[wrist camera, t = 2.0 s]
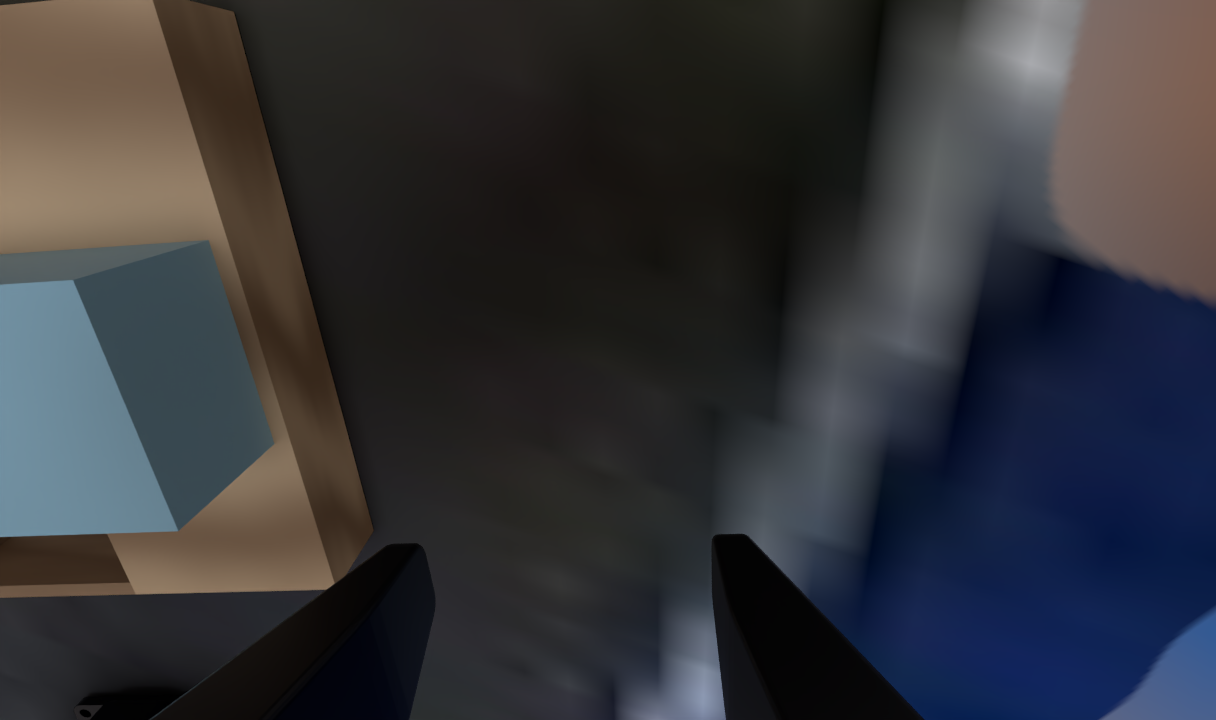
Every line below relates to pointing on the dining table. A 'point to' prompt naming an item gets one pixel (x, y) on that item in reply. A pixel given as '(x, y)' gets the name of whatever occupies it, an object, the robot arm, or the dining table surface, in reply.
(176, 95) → the trap deck
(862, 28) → the dining table surface
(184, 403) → the teal block
